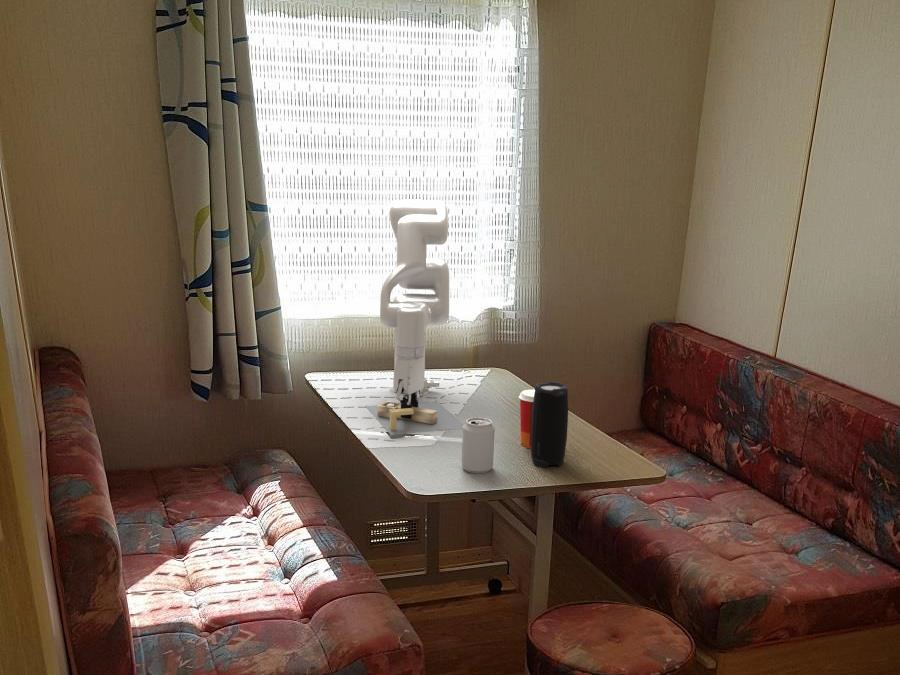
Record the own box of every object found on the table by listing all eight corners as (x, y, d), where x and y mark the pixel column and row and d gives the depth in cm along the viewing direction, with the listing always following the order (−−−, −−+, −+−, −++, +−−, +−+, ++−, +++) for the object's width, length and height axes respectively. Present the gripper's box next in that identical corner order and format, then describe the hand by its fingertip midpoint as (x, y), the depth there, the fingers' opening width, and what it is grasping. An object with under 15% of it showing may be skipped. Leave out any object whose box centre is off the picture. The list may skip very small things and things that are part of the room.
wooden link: (377, 415, 228) (377, 405, 227) (387, 411, 232) (387, 400, 232) (430, 425, 220) (430, 414, 220) (439, 420, 225) (439, 409, 225)
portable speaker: (550, 454, 204) (554, 378, 200) (573, 466, 196) (578, 388, 192) (521, 459, 200) (525, 382, 196) (543, 471, 192) (548, 391, 188)
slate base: (436, 403, 245) (436, 383, 244) (469, 431, 220) (469, 409, 219) (365, 409, 237) (365, 388, 236) (390, 438, 213) (391, 415, 211)
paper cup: (549, 442, 213) (552, 390, 210) (543, 451, 206) (545, 398, 203) (520, 438, 215) (522, 387, 212) (513, 447, 208) (515, 394, 205)
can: (460, 463, 196) (461, 415, 193) (490, 463, 197) (492, 415, 194) (463, 474, 189) (464, 425, 186) (495, 474, 189) (497, 425, 187)
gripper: (412, 345, 231) (411, 407, 235) (383, 355, 217) (382, 421, 221) (436, 348, 228) (434, 411, 232) (407, 359, 214) (406, 426, 217)
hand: (409, 415), depth 226 cm, fingers closed on wooden link, 3 cm apart
